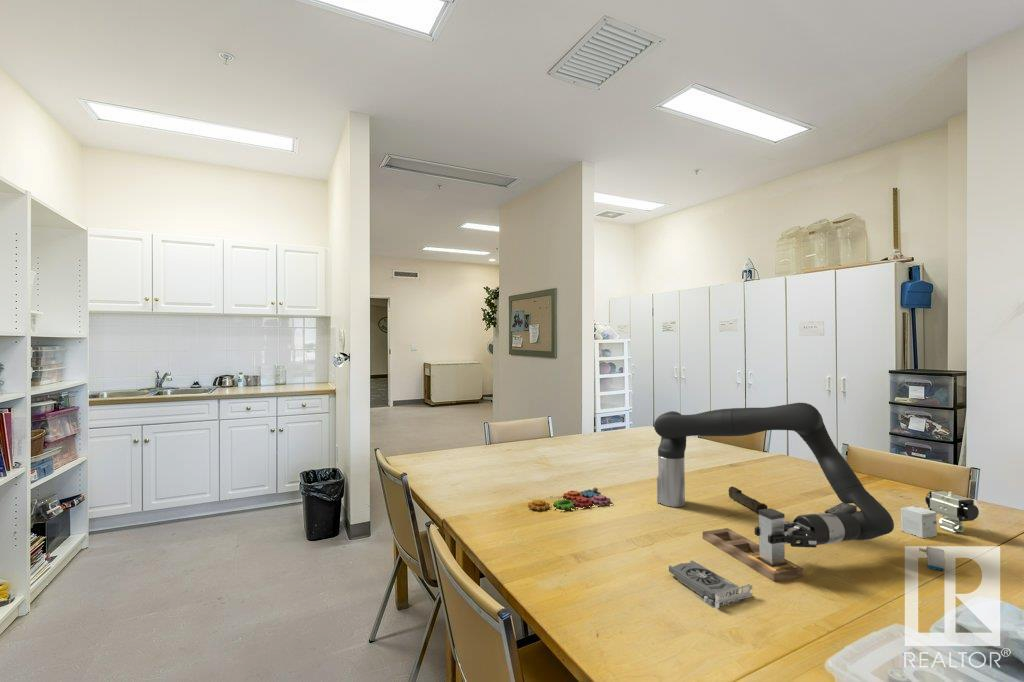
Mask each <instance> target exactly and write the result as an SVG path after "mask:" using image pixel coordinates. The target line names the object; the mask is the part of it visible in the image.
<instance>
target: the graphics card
mask: <svg viewBox="0 0 1024 682" xmlns="http://www.w3.org/2000/svg"><path fill="white" fill-rule="evenodd" d="M668 572H669V573H671V574H672V575H673V576H674V578H675V579H677V581H678V582H680V583H681V584H683V585H684V586H686V587H687V588H688V589H690V590H692V591H693V592H695V593H697V594H698V595H700V596H701V597H700V596H698V595H695V598H698V599H699V600H700V601H702V602H704V603H705V604H706V605H708V606H709V607H711V608H714V609H716V610H717V611H720V609H719V608H720V607H723V606H725V605H727V606H728V607H730V606H733V605H734V603H735V602H737V603H742V602H745V601H747V599H748V598H751V597H753V592H751V590H753V585H752V584H750V583H748V584H744V585H741V586H738V585H737V584H735V583H733V582H731V581H730V580H728V579H726V578H724V577H723V576H721V575H719V574H718V573H715V572H714V571H712V570H710V569H708V568H707V567H705V566H703V565H702V564H699V563H697V562H696V561H694V560H690V561H689V562H684V563H681V562H680V563H678V564H676V565H674V566H673V565H669V566H668Z"/></svg>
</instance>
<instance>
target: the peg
mask: <svg viewBox="0 0 1024 682" xmlns="http://www.w3.org/2000/svg"><path fill="white" fill-rule="evenodd" d="M758 514H759V515H758ZM758 514H757V515H758V526H759V536H758V537H759V539H758V540H759V544H758V545H759V549H760V561H762V562H764V563H765V564H767V565H769V566H771V567H776V566H782V565H785V559H786V558H785V555H786V553H785V544H784V543H775V544H770V543H769V542H768V535H769V534H775V533H782V534H783V533H784V522H785V513H783V512H780V511H778V510H777V509H774V508H771V507H770V508H767V509H762V510H758Z"/></svg>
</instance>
